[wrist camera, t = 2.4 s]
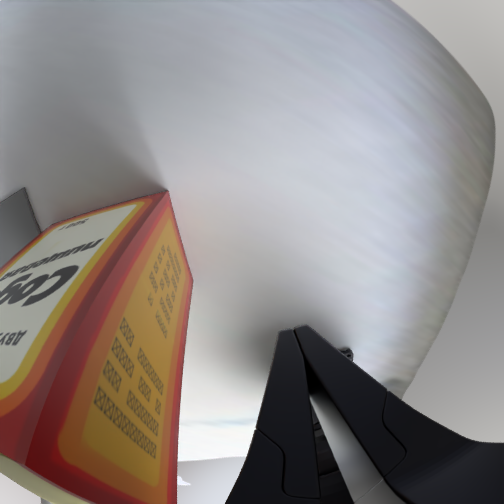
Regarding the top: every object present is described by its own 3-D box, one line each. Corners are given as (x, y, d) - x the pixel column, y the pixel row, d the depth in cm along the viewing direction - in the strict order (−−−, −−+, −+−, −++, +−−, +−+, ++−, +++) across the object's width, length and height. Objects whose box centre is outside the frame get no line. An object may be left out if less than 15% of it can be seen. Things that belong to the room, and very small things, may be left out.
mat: (96, 337, 20) (95, 339, 20) (6, 345, 20) (5, 347, 20) (24, 187, 14) (22, 188, 14) (-50, 242, 14) (-52, 243, 13)
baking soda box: (84, 299, 18) (6, 479, 4) (52, 224, 15) (-92, 390, 1) (193, 281, 19) (178, 536, 4) (168, 190, 16) (20, 483, 1)
